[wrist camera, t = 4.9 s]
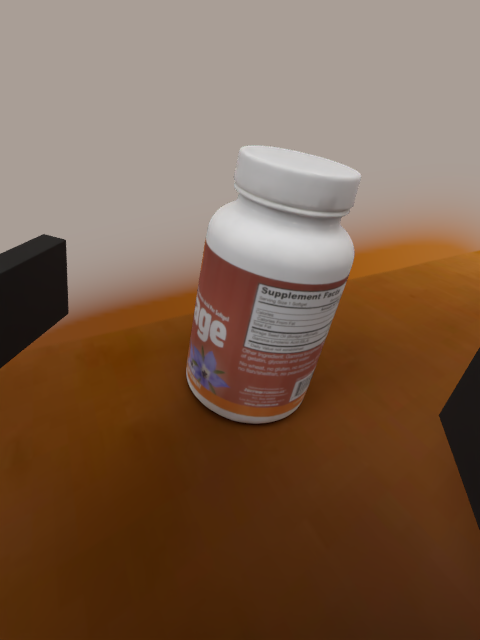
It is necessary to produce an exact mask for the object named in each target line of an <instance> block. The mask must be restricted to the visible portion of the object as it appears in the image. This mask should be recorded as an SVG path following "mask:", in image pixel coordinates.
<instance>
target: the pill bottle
mask: <svg viewBox="0 0 480 640" xmlns="http://www.w3.org/2000/svg"><path fill="white" fill-rule="evenodd" d="M234 180H235V181H236V182H235V184H234V187H235V189H236V190H237V191H238V192H239V195H238V198H237V200H235V201H232V202H229V203H227V204H225V205H223V206H222V207H221V208H219V209H218V210H217V211H216V212H215V213H214V215H213V216H212V218H211V220H210V222H209V226H208V230H207V235H206V240H205V246H204V252H203V259H202V265H201V273H200V278H199V285H198V290H197V291H198V292H197V298H196V305H195V312H194V319H193V325H192V332H191V338H190V345H189V351H188V358H187V367H186V376H187V381H188V384H189V386H190V388H191V390H192V392H193V393H194V395H195V396H196V397H197V398H198V399H199V400H200V402H201V403H203V404H204V405H205V406H206V407H207V408H209V409H210V410H212V411H214V412H215V413H217V414H219V415H221V416H223V417H225V418H227V419H230V420H233V421H237V422H243V423H254V424H259V423H268V422H274V421H277V420H280V419H282V418H285V417H286V416H288V415H290V414H291V413H293V412H294V411H295V410H296V409H297V408H298V407H299V405H300V404H301V402H302V400H303V398H304V396H305V394H306V391H307V388H308V386H309V383H310V380H311V378H312V375H313V372H314V369H315V367H316V364H317V361H318V359H319V356H320V353H321V350H322V348H323V345H324V342H325V339H326V336H327V334H328V331H329V328H330V325H331V322H332V320H333V317H334V314H335V312H336V309H337V306H338V303H339V300H340V298H341V295H342V292H343V290H344V287H345V284H346V281H347V279H348V276H349V273H350V269H351V267H352V264H353V260H354V247H353V242H352V240H351V238H350V236H349V234H348V233H347V231H346V230H345V229H344V228H343V227H342V226H341V225H340V221H341V217H343V216H346V215H347V214H349V212H350V208H352V207H353V205H354V200H355V197H356V194H357V190H358V186H359V183H360V180H361V174H360V173H359V172H357V171H356V170H355V169H353V168H351V167H348V166H346V165H343V164H341V163H338V162H335V161H332V160H329V159H326V158H322V157H319V156H315V155H311V154H307V153H302V152H298V151H293V150H289V149H283V148H277V147H269V146H256V145H250V146H243V147H241V149H240V151H239V156H238V160H237V165H236V170H235V174H234Z"/></svg>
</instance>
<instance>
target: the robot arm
mask: <svg viewBox="0 0 480 640" xmlns="http://www.w3.org/2000/svg"><path fill="white" fill-rule="evenodd" d="M66 259H67V258H66V240H64V239H60V238H57V237H53V236H49V235H45V234H43V235H41V236H39V237H37V238H34V239H32V240H30V241H28V242H25V243H23V244H21V245H19V246H17V247H14V248H12V249H10V250H8V251H6V252H3V253H1V254H0V368H1V367H2V366H4V365H5V364H6V363H7V362H9V361H10V360H11V359H12V358H14V357H15V356H16V355H17V354H19V353H20V352H21V351H22V350H24V349H25V348H26V347H27V346H28V345H30V344H31V343H32V342H33V341H35V340H36V339H37V338H39V337H40V336H41V335H42V334H43V333H45V332H46V331H47V330H48V329H50V328H51V327H52V326H53V325H55V324H56V323H57V322H58V321H60V320H61V319H62V318H63V317H65V316H66V315H67V314H68V286H67V260H66ZM439 417H440V420H441V422H442V425H443V428H444V431H445V434H446V436H447V439H448V442H449V445H450V448H451V451H452V453H453V456H454V459H455V462H456V465H457V467H458V470H459V473H460V476H461V479H462V482H463V484H464V487H465V490H466V493H467V496H468V498H469V501H470V504H471V507H472V510H473V513H474V515H475V518H476V521H477V524H478V527H479V529H480V348H479V349H478V351H477V353H476V354H475V356H474V358H473V359H472V361H471V363H470V364H469V366H468V368H467V369H466V371H465V373H464V374H463V376H462V378H461V379H460V381H459V383H458V384H457V386H456V388H455V389H454V391H453V393H452V394H451V396H450V398H449V399H448V401H447V403H446V404H445V406H444V408H443V409H442V411H441V413H440V414H439Z"/></svg>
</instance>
